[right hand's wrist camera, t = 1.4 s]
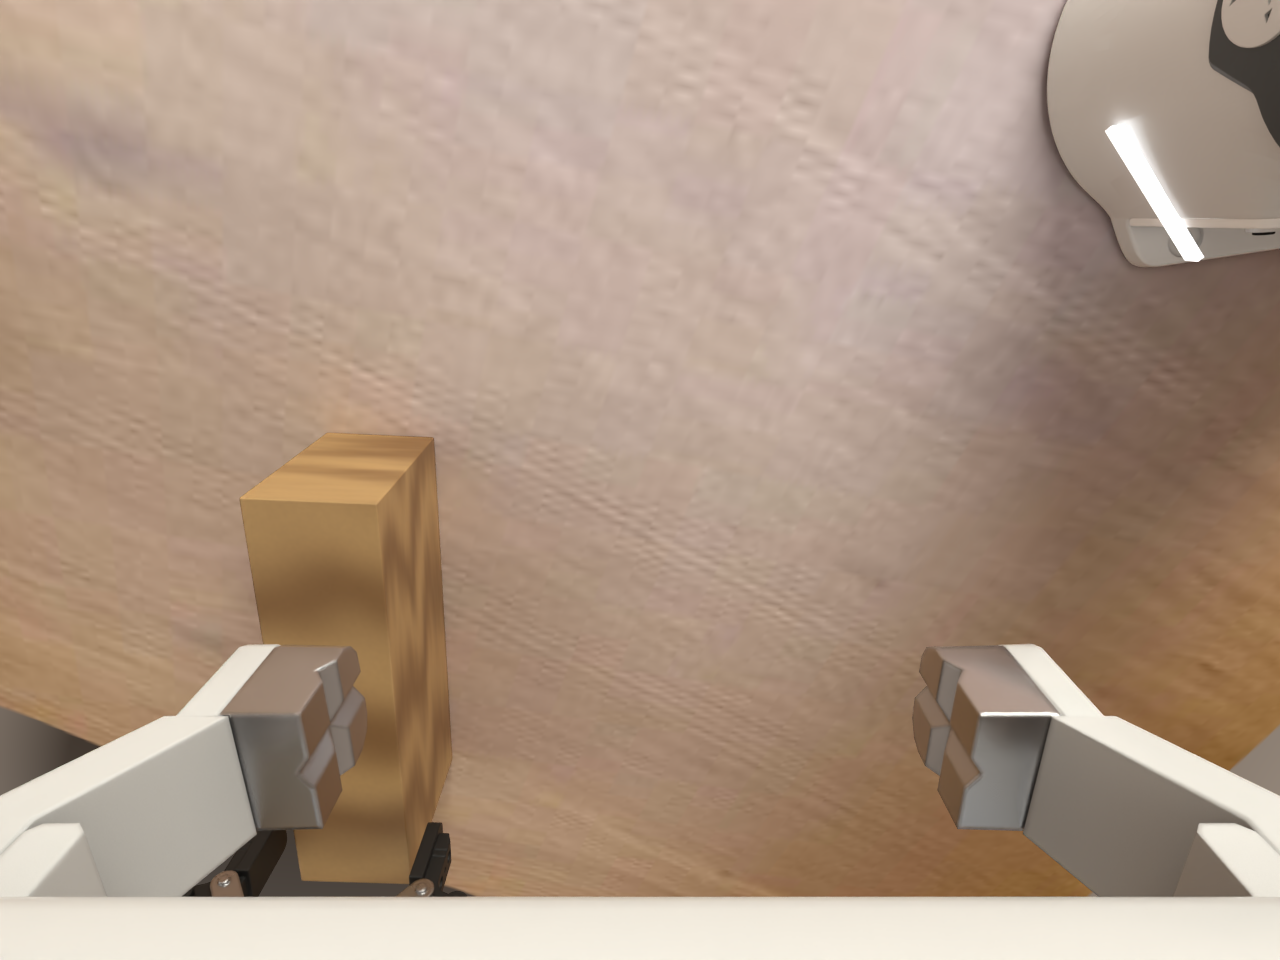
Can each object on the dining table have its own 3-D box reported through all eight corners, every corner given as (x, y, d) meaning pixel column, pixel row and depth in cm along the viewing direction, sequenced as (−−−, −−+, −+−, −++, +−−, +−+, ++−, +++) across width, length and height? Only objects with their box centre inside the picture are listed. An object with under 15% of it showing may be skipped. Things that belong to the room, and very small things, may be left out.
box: (326, 432, 40) (238, 497, 31) (434, 437, 40) (377, 503, 31) (363, 756, 48) (301, 881, 39) (452, 759, 48) (410, 885, 39)
